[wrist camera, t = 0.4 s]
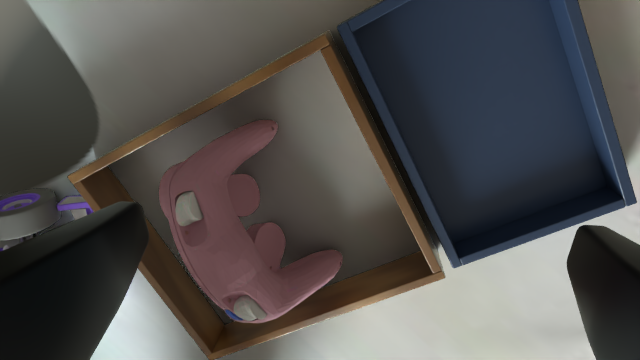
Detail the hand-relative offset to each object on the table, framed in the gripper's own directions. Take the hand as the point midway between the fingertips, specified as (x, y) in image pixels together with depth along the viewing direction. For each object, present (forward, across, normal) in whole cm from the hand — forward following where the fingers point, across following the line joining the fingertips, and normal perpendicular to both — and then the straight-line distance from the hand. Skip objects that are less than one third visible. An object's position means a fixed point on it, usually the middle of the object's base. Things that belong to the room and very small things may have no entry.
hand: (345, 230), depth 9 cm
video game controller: (+13, +5, +8) cm, 16 cm away
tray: (+14, -6, +2) cm, 15 cm away
